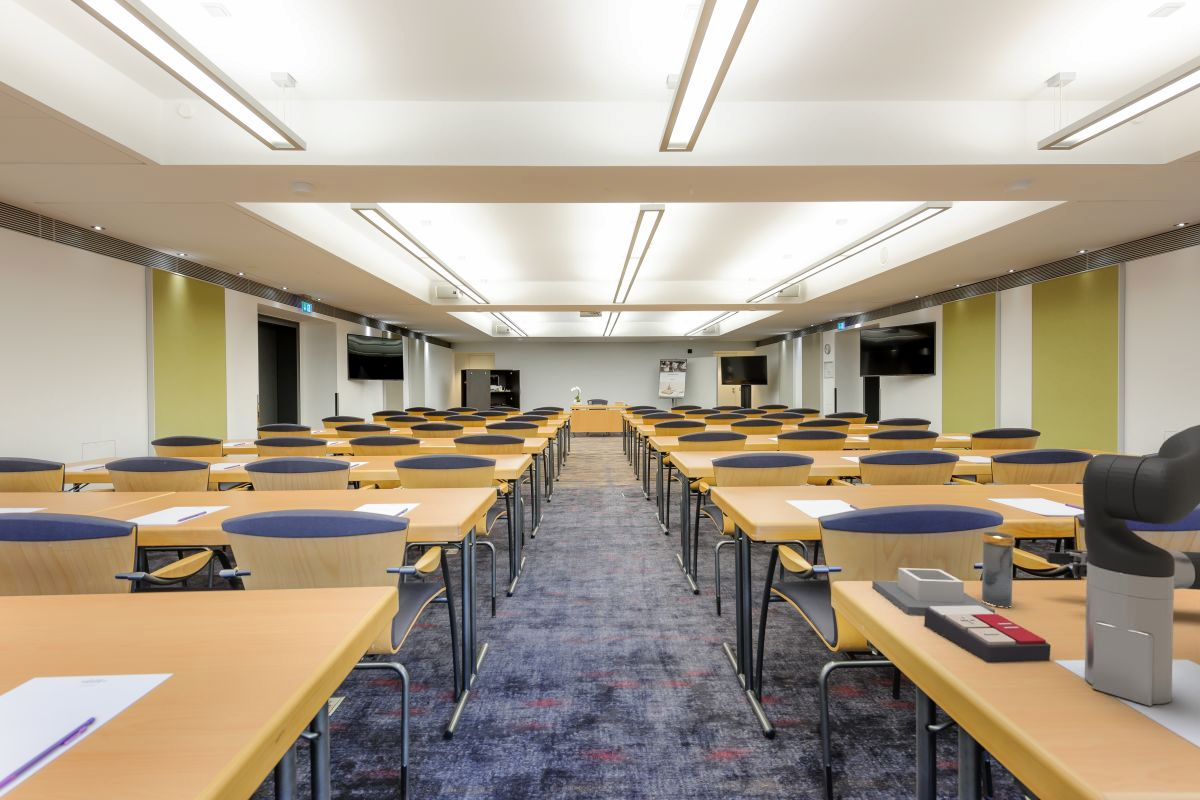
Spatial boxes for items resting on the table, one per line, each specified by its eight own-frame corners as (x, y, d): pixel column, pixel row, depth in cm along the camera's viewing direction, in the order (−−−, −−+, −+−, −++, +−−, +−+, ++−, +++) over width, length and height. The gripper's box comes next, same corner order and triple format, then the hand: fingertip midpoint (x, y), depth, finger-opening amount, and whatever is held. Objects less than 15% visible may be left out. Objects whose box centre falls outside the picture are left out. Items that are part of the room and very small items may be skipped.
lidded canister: (1008, 610, 113) (1009, 539, 113) (976, 602, 117) (978, 534, 117) (1016, 604, 117) (1018, 535, 117) (985, 597, 121) (987, 530, 121)
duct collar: (994, 618, 109) (995, 589, 109) (907, 614, 110) (908, 585, 110) (947, 590, 125) (948, 564, 125) (872, 587, 126) (872, 562, 126)
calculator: (988, 642, 90) (924, 602, 105) (987, 668, 90) (922, 626, 105) (1052, 640, 91) (980, 601, 106) (1050, 667, 91) (978, 624, 106)
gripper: (1127, 540, 119) (1039, 536, 122) (1183, 559, 105) (1083, 554, 108) (1126, 576, 120) (1039, 571, 122) (1183, 600, 105) (1083, 594, 108)
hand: (1060, 563), depth 115 cm, fingers open, 8 cm apart
